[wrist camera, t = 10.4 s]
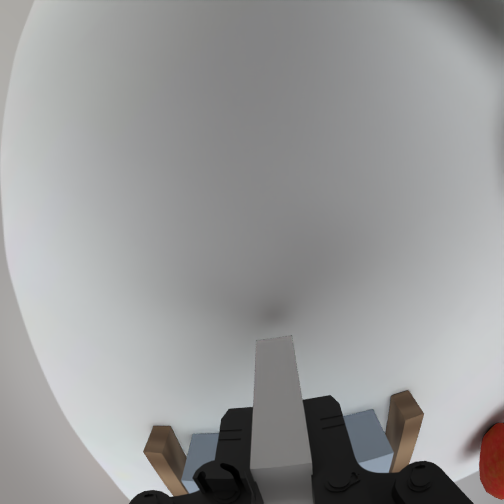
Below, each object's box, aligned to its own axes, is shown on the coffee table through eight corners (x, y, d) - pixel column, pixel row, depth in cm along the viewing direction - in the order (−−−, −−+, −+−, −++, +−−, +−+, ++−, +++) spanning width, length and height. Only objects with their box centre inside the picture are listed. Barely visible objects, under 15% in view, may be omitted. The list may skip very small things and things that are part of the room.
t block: (193, 433, 19) (181, 480, 15) (372, 408, 19) (393, 452, 14) (221, 494, 21) (217, 532, 16) (363, 474, 21) (375, 512, 16)
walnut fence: (153, 425, 19) (143, 451, 16) (408, 390, 18) (424, 413, 15) (203, 508, 22) (200, 529, 19) (385, 484, 21) (393, 503, 18)
